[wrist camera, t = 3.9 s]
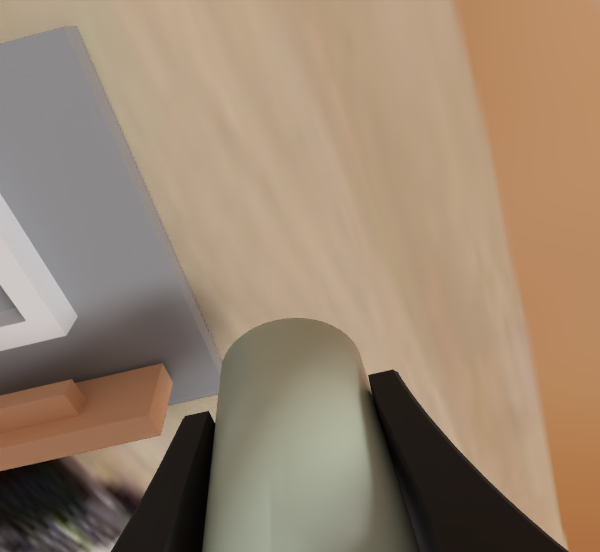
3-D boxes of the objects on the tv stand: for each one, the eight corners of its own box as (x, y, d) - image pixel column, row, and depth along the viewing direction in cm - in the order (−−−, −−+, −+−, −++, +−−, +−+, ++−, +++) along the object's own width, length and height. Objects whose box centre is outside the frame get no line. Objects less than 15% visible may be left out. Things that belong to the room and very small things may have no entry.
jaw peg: (370, 406, 13) (444, 658, 8) (243, 434, 13) (235, 699, 8) (350, 302, 11) (432, 553, 6) (200, 337, 11) (151, 611, 6)
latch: (173, 382, 19) (160, 435, 16) (-81, 440, 19) (-128, 499, 17) (151, 342, 18) (134, 393, 15) (-119, 405, 18) (-176, 463, 16)
